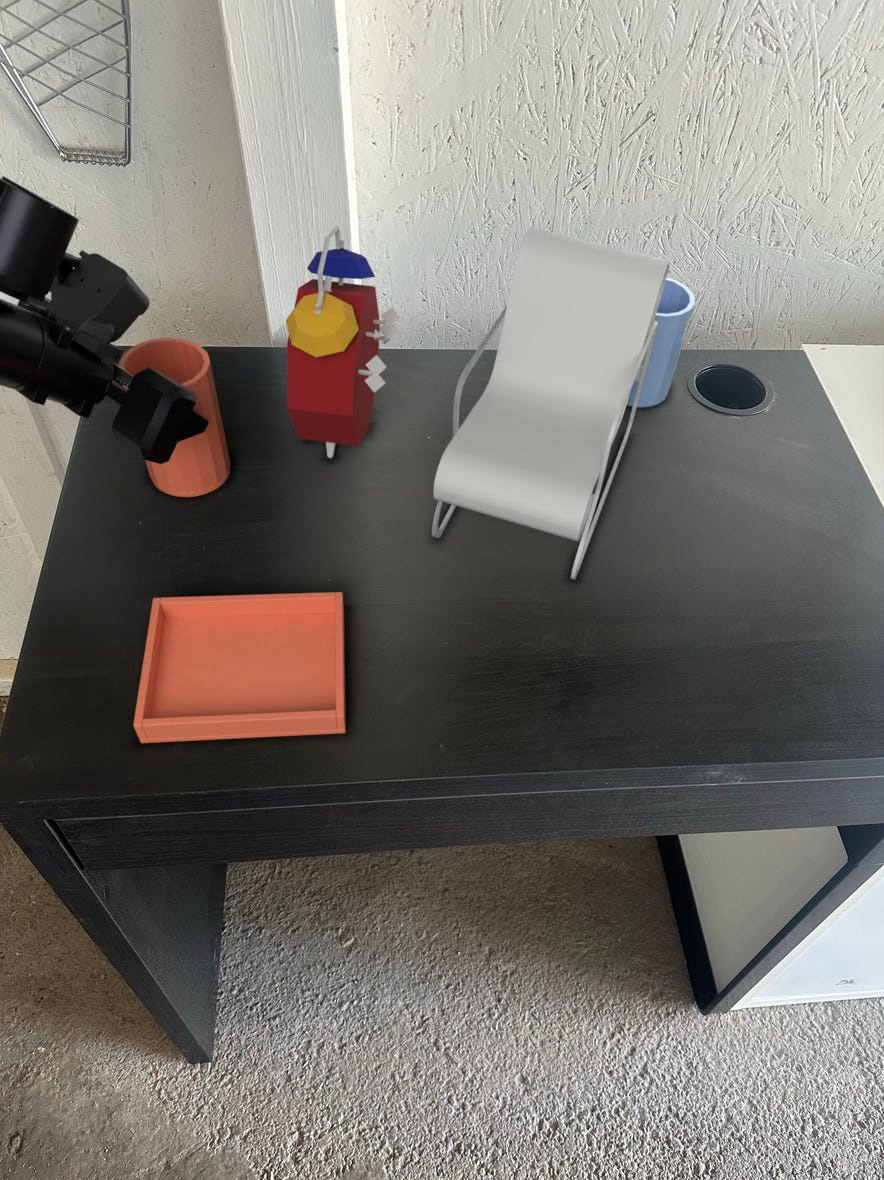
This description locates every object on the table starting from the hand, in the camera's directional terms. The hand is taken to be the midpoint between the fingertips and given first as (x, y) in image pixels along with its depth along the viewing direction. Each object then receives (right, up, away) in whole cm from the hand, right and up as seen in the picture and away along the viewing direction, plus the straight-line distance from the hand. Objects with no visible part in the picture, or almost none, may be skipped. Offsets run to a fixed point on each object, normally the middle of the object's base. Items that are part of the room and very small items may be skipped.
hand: (170, 402), depth 78 cm
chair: (+33, -6, +9) cm, 34 cm away
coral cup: (0, -5, +7) cm, 8 cm away
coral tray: (+9, -23, -7) cm, 26 cm away
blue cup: (+44, +7, +20) cm, 49 cm away
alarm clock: (+14, +1, +12) cm, 19 cm away
